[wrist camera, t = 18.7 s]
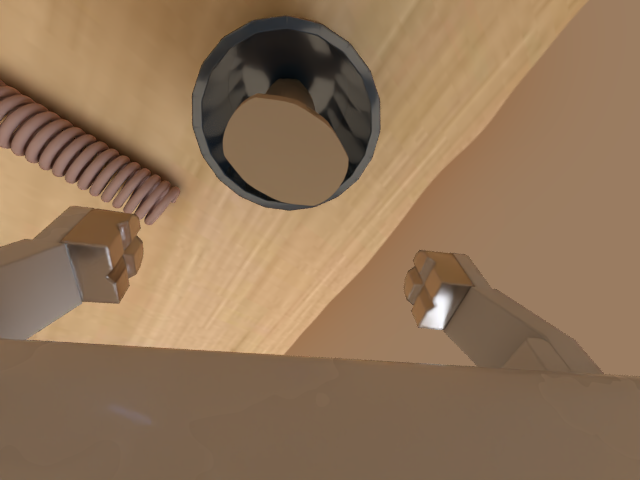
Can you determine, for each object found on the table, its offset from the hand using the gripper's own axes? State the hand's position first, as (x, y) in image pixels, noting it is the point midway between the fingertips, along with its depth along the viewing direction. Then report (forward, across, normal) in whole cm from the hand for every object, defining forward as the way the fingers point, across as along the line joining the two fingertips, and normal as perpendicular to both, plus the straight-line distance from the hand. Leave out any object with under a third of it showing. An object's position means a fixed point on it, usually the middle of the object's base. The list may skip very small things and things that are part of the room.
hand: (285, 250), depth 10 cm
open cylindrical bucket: (+24, 0, 0) cm, 24 cm away
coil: (+24, +18, +8) cm, 31 cm away
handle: (+23, 0, 0) cm, 23 cm away
